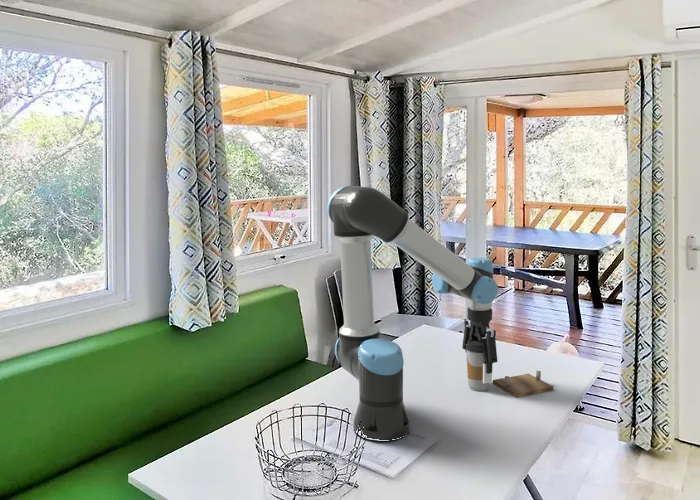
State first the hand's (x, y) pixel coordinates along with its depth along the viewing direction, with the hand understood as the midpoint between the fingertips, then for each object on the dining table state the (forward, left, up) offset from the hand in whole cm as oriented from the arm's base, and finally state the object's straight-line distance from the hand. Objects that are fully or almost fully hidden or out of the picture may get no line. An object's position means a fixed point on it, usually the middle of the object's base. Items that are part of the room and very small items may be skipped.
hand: (478, 377), depth 181 cm
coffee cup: (0, 0, -4) cm, 4 cm away
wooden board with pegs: (+13, -5, -3) cm, 14 cm away
